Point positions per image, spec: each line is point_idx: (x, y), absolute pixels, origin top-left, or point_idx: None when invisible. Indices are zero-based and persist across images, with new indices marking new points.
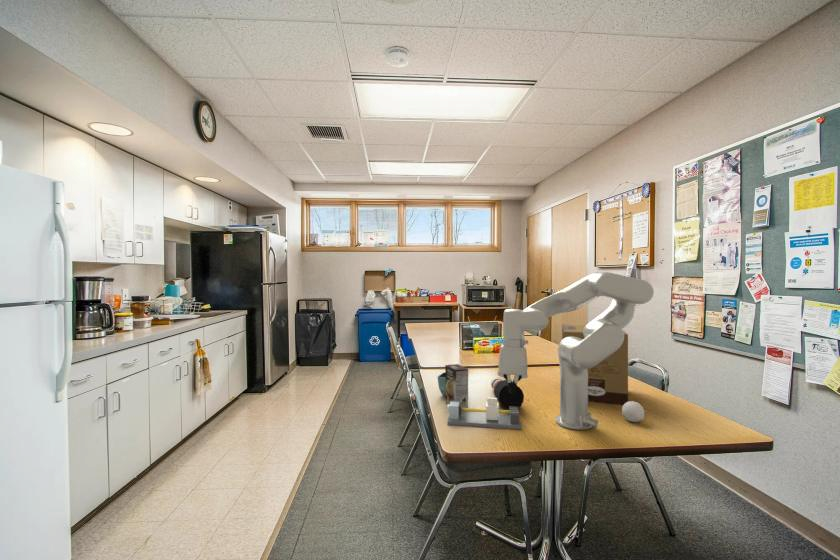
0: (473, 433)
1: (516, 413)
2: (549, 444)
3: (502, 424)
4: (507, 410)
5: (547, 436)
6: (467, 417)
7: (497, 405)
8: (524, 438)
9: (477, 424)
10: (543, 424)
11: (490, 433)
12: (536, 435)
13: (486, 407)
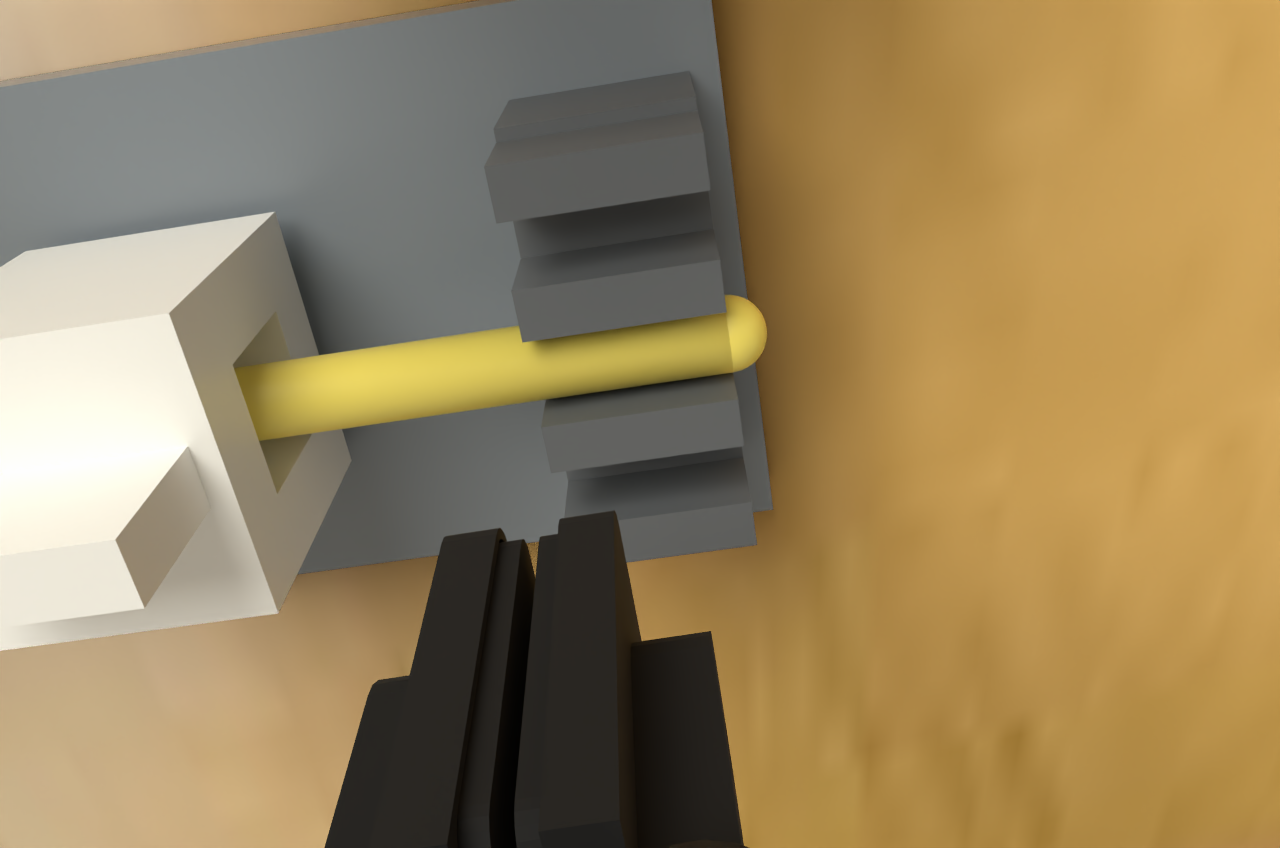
0: (109, 789)
1: (699, 546)
2: (1135, 805)
3: None
4: (479, 392)
5: (1161, 600)
6: None
7: (221, 516)
8: (817, 742)
9: None
10: (1202, 133)
11: (332, 730)
12: (998, 613)
13: (15, 635)
